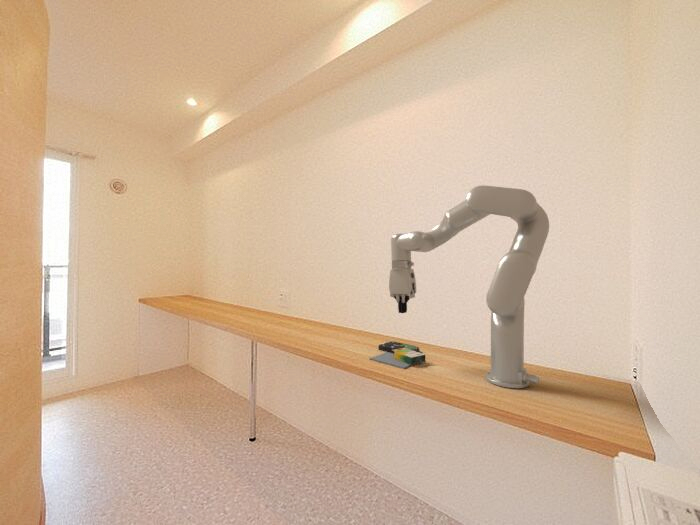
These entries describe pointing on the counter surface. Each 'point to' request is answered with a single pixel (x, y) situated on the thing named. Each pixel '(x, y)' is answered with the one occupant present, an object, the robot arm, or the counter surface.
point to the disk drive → (396, 347)
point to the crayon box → (409, 356)
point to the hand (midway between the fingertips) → (402, 312)
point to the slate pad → (390, 360)
